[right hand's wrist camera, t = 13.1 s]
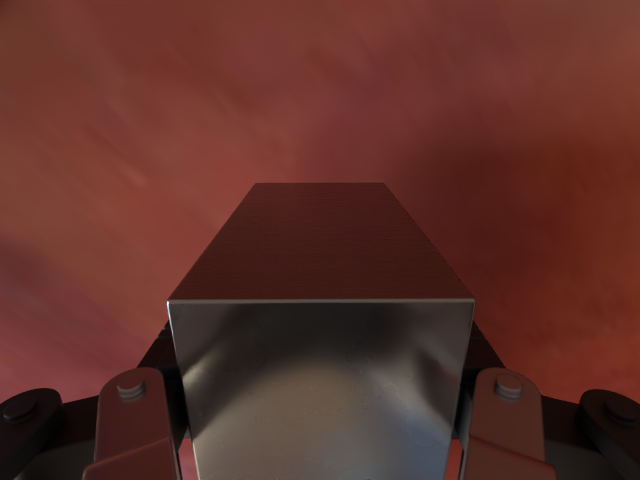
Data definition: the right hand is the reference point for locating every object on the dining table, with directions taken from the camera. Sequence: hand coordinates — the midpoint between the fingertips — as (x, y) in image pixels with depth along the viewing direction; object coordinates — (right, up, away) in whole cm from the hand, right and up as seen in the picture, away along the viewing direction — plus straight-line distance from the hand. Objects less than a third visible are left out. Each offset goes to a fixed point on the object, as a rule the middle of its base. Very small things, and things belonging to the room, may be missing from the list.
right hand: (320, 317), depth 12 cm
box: (0, -7, +10) cm, 13 cm away
